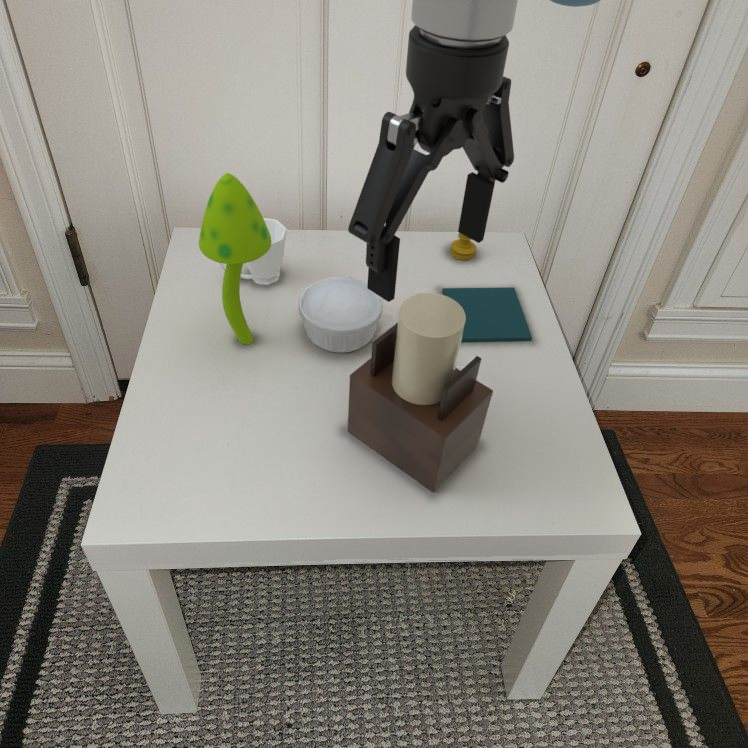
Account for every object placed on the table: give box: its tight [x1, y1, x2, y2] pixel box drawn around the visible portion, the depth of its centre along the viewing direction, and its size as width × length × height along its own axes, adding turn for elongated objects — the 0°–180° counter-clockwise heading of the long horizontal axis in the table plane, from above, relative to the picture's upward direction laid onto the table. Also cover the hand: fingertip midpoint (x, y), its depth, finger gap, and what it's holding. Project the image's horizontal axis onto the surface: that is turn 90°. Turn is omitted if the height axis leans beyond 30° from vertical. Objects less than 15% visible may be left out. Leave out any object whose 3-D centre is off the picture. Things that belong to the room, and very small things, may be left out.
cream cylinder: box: [392, 292, 466, 405], centre depth 68 cm, size 7×7×10 cm
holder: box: [347, 322, 494, 493], centre depth 74 cm, size 13×9×15 cm
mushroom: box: [198, 172, 271, 345], centre depth 80 cm, size 8×8×25 cm
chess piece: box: [449, 232, 477, 262], centre depth 104 cm, size 4×4×5 cm
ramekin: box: [297, 276, 384, 354], centre depth 89 cm, size 11×11×5 cm
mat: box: [441, 286, 533, 343], centre depth 95 cm, size 11×11×1 cm
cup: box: [219, 217, 288, 286], centre depth 95 cm, size 7×10×8 cm
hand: (428, 263), depth 64 cm, fingers open, 13 cm apart
